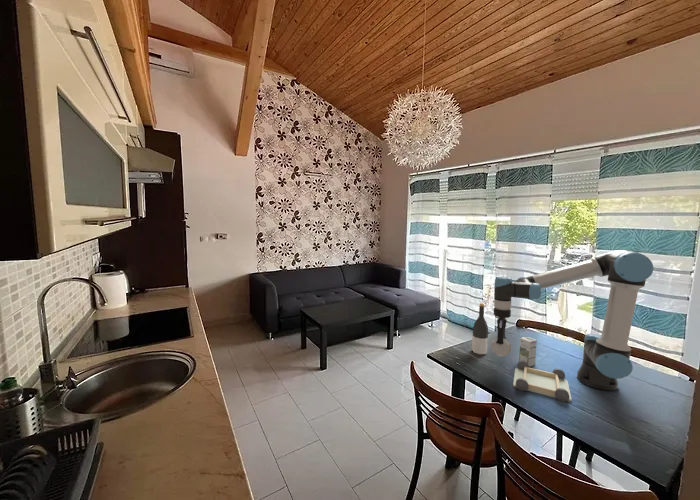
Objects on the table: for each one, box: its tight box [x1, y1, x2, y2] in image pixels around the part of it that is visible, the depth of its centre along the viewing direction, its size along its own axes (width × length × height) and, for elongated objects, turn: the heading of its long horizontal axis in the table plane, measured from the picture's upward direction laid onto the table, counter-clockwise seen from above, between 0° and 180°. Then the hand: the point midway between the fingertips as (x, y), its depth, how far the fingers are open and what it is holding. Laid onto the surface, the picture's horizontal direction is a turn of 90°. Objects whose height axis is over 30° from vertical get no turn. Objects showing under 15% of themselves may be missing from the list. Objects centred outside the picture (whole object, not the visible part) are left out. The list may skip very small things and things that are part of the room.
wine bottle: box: [471, 302, 489, 356], centre depth 172 cm, size 8×8×30 cm
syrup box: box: [518, 336, 538, 367], centre depth 161 cm, size 6×6×14 cm
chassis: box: [512, 361, 573, 403], centre depth 141 cm, size 22×23×5 cm
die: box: [491, 338, 512, 358], centre depth 147 cm, size 8×9×10 cm
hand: (500, 353), depth 148 cm, fingers closed on die, 6 cm apart
